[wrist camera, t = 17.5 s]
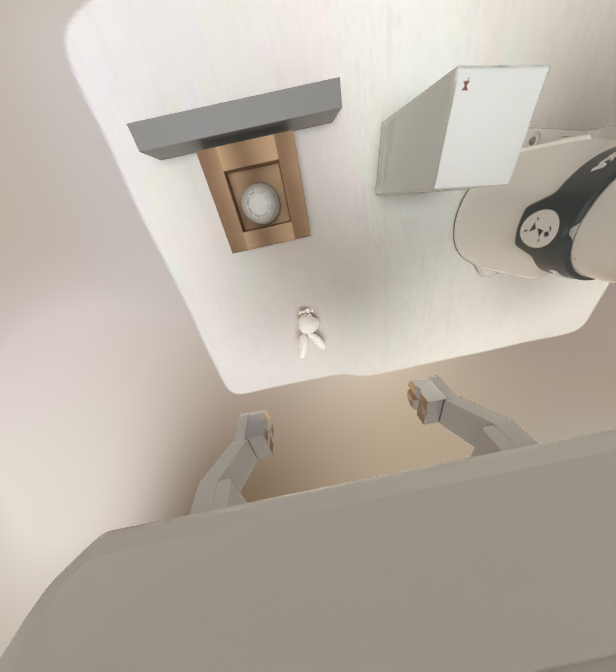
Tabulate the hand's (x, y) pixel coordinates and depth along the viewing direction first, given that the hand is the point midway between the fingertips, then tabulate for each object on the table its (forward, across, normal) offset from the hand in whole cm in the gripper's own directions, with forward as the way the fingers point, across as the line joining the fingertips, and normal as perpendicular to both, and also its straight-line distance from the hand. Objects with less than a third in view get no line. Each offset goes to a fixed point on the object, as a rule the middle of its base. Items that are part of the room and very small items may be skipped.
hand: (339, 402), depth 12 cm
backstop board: (+25, +4, -17) cm, 31 cm away
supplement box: (+26, -16, -12) cm, 32 cm away
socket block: (+25, +3, -11) cm, 27 cm away
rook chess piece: (+24, +3, -10) cm, 26 cm away
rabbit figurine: (+25, 0, +9) cm, 27 cm away
